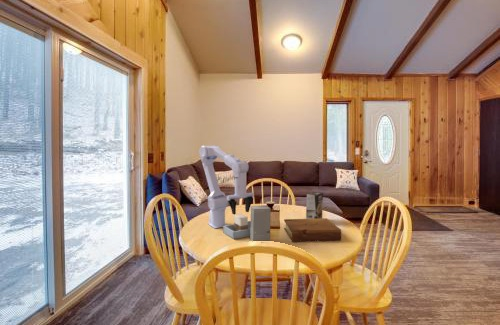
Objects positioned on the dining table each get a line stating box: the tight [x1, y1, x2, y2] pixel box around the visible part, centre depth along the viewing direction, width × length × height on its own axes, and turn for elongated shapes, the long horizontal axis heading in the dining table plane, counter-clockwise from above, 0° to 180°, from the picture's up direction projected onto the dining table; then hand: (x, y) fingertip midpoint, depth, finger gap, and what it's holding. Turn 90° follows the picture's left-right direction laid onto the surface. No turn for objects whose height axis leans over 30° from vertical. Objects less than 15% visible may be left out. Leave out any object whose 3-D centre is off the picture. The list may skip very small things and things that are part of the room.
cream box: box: [233, 213, 249, 226], centre depth 138 cm, size 6×4×4 cm, turn 33°
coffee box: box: [305, 191, 324, 219], centre depth 158 cm, size 9×6×16 cm
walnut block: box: [233, 222, 248, 232], centre depth 138 cm, size 6×4×4 cm
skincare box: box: [249, 205, 272, 242], centre depth 129 cm, size 8×7×16 cm
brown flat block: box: [283, 217, 342, 243], centre depth 137 cm, size 23×19×6 cm
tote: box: [222, 220, 251, 240], centre depth 140 cm, size 11×18×3 cm, turn 123°
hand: (240, 212), depth 138 cm, fingers open, 7 cm apart
